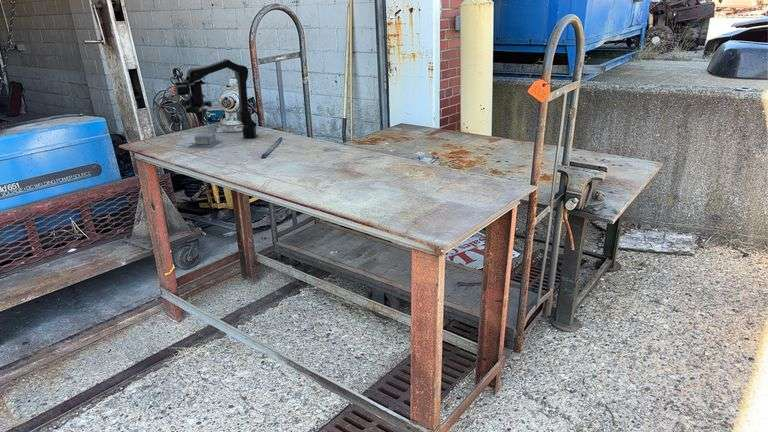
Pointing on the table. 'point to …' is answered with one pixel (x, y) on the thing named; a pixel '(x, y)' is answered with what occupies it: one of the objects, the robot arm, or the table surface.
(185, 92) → the robot arm
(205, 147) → the slate mat
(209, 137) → the medicine box
